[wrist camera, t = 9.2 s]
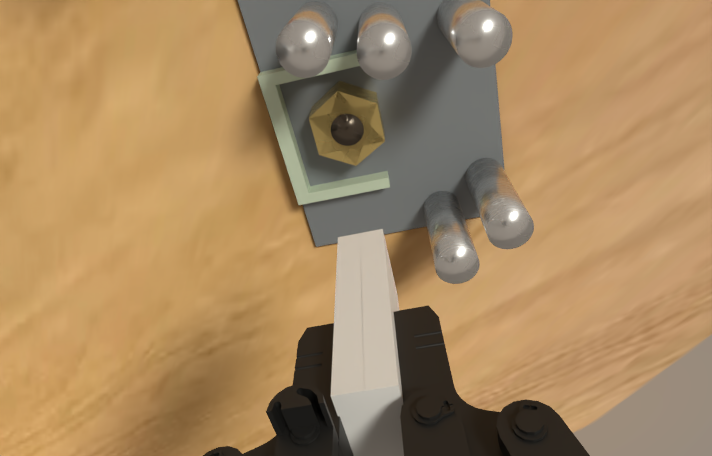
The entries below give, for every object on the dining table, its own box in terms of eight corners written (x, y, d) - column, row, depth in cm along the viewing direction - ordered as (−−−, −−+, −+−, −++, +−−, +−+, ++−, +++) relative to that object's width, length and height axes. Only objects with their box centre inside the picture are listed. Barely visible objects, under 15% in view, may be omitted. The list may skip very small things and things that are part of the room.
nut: (326, 158, 37) (323, 172, 35) (306, 88, 35) (303, 98, 32) (387, 145, 37) (389, 159, 35) (372, 73, 34) (373, 83, 32)
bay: (300, 198, 39) (298, 205, 38) (260, 72, 34) (257, 76, 33) (389, 180, 38) (390, 187, 37) (361, 48, 33) (361, 52, 32)
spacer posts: (352, 238, 41) (349, 301, 34) (289, 6, 32) (268, 28, 25) (506, 210, 39) (536, 270, 32) (484, -43, 31) (519, -34, 24)
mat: (316, 244, 42) (316, 246, 41) (233, -18, 32) (232, -18, 31) (506, 208, 40) (507, 211, 39) (481, -82, 30) (482, -83, 29)
